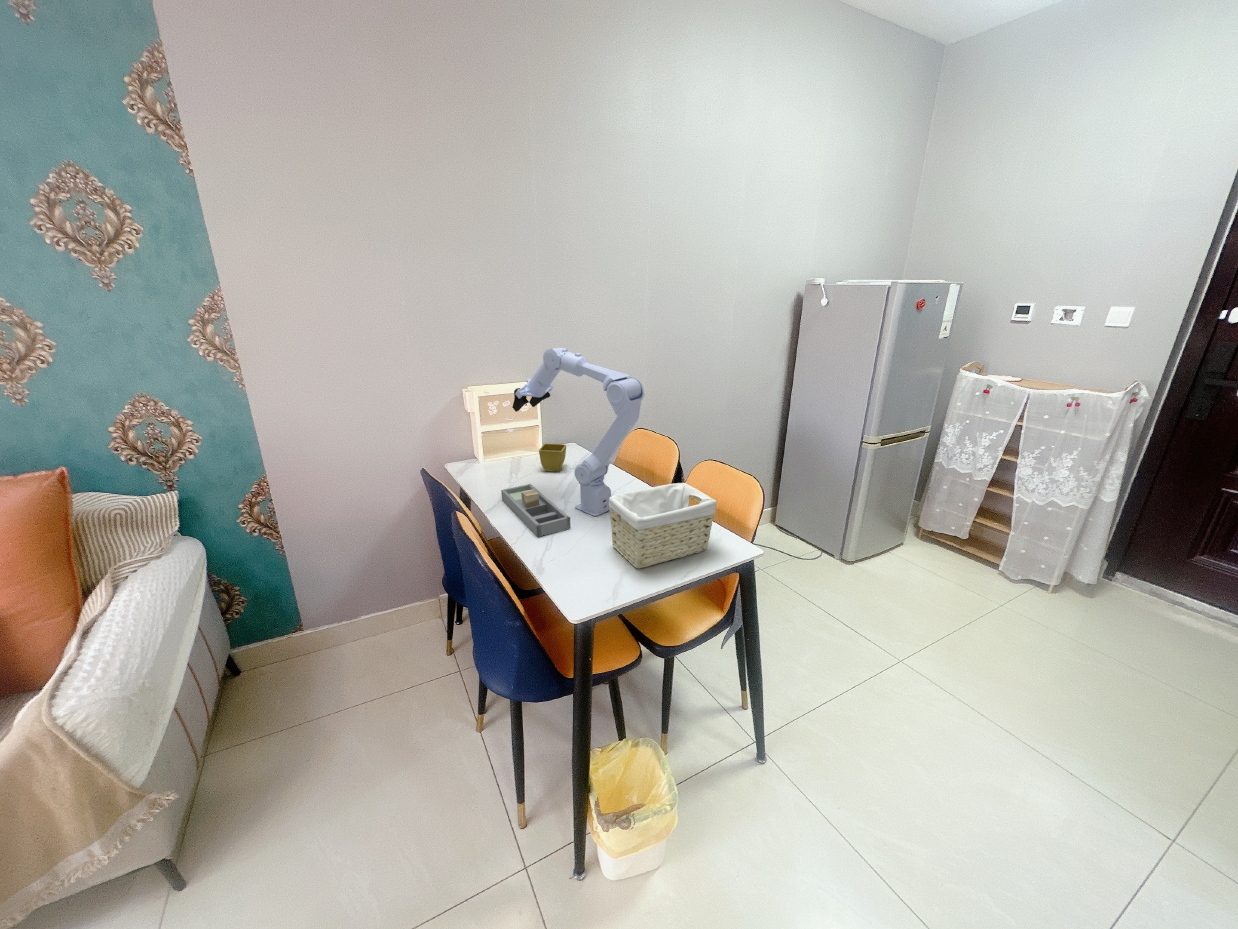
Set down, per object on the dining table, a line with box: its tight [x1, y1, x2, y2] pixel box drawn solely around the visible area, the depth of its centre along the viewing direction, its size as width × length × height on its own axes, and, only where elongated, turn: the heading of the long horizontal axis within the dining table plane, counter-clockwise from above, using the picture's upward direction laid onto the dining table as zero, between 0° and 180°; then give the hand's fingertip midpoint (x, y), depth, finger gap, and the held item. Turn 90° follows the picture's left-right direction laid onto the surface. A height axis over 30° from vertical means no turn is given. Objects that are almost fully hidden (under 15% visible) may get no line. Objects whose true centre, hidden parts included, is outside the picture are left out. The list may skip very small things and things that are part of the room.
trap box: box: [500, 483, 571, 538], centre depth 147 cm, size 30×10×4 cm, turn 32°
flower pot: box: [538, 443, 567, 473], centre depth 183 cm, size 9×9×9 cm
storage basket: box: [609, 482, 717, 569], centre depth 125 cm, size 24×16×15 cm
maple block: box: [521, 489, 539, 508], centre depth 149 cm, size 4×4×4 cm
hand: (523, 407), depth 157 cm, fingers open, 7 cm apart
